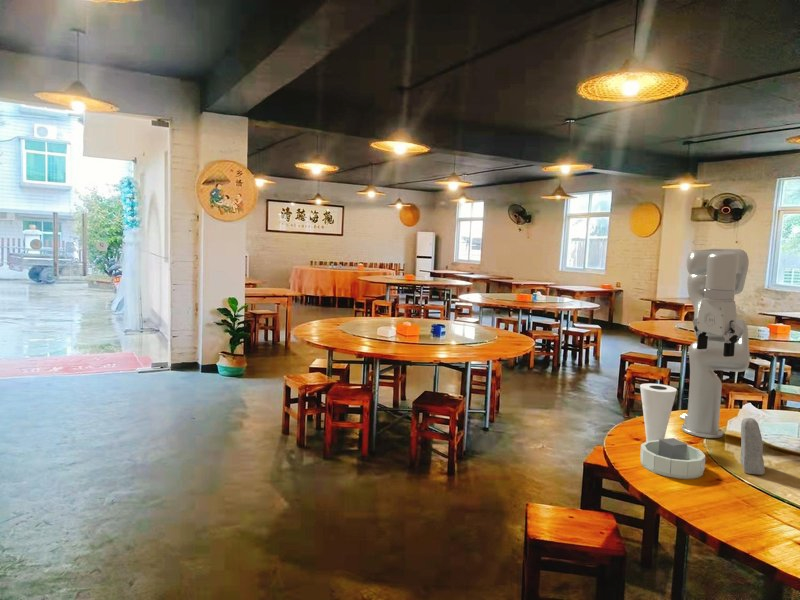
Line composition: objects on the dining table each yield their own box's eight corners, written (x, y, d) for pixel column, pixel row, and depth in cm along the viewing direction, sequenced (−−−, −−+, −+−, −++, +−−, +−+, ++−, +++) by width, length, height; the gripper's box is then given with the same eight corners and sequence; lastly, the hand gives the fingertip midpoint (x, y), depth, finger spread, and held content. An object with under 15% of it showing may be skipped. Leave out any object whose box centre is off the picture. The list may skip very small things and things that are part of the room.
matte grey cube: (657, 461, 157) (659, 439, 156) (672, 459, 158) (673, 438, 158) (670, 468, 152) (672, 445, 152) (685, 466, 154) (686, 444, 153)
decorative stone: (735, 459, 162) (739, 410, 160) (758, 463, 159) (763, 413, 158) (740, 473, 152) (745, 421, 150) (766, 477, 150) (770, 424, 148)
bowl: (628, 459, 161) (629, 442, 160) (673, 454, 165) (674, 438, 165) (669, 481, 145) (670, 463, 145) (716, 475, 150) (718, 458, 149)
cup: (629, 437, 179) (632, 384, 177) (657, 435, 182) (661, 382, 180) (651, 449, 169) (655, 392, 167) (680, 446, 171) (684, 391, 170)
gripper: (686, 292, 165) (682, 347, 168) (733, 299, 149) (728, 360, 151) (706, 291, 167) (702, 345, 170) (755, 298, 151) (750, 358, 153)
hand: (714, 352), depth 160 cm, fingers open, 9 cm apart
